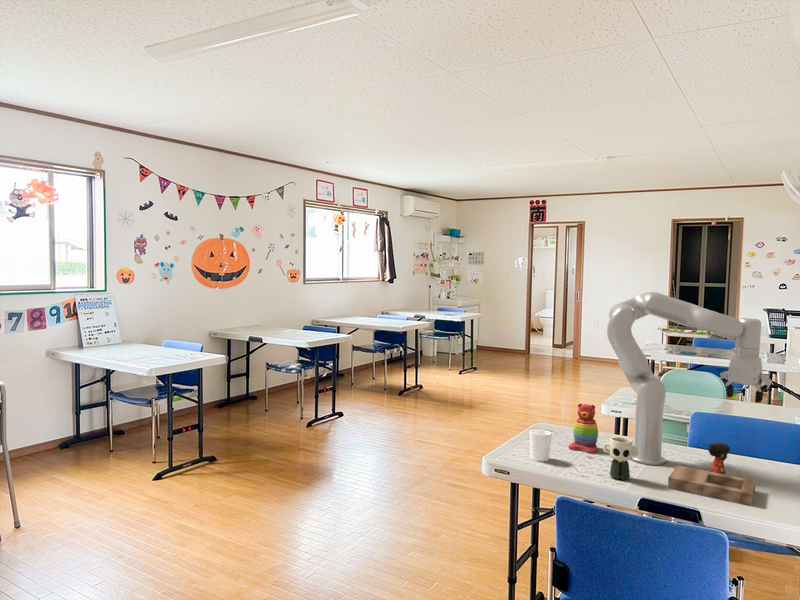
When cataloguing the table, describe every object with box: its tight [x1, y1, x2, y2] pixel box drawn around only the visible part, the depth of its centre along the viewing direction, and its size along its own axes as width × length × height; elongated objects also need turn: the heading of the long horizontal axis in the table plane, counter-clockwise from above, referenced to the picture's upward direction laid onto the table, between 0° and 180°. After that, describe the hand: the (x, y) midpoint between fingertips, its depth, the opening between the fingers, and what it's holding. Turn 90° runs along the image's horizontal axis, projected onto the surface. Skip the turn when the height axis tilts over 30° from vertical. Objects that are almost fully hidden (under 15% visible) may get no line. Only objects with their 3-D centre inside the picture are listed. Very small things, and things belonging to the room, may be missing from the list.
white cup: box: [529, 429, 552, 462], centre depth 210 cm, size 8×8×10 cm
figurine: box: [707, 442, 731, 475], centre depth 195 cm, size 6×6×12 cm
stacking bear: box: [568, 403, 599, 455], centre depth 225 cm, size 11×10×18 cm
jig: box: [667, 465, 756, 507], centre depth 183 cm, size 23×16×4 cm
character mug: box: [603, 436, 638, 480], centre depth 192 cm, size 11×7×13 cm, turn 72°
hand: (743, 399), depth 206 cm, fingers open, 9 cm apart
